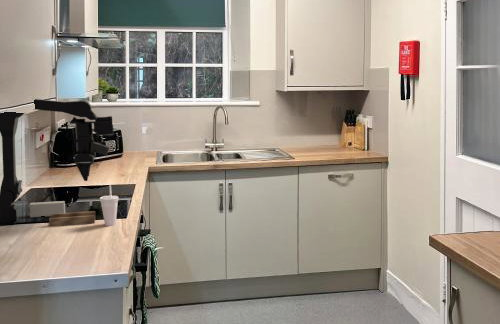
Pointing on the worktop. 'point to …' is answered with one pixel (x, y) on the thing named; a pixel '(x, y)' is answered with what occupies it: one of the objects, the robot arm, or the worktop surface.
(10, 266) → the worktop surface
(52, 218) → the wooden block
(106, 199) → the smoothie
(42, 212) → the clay strip
